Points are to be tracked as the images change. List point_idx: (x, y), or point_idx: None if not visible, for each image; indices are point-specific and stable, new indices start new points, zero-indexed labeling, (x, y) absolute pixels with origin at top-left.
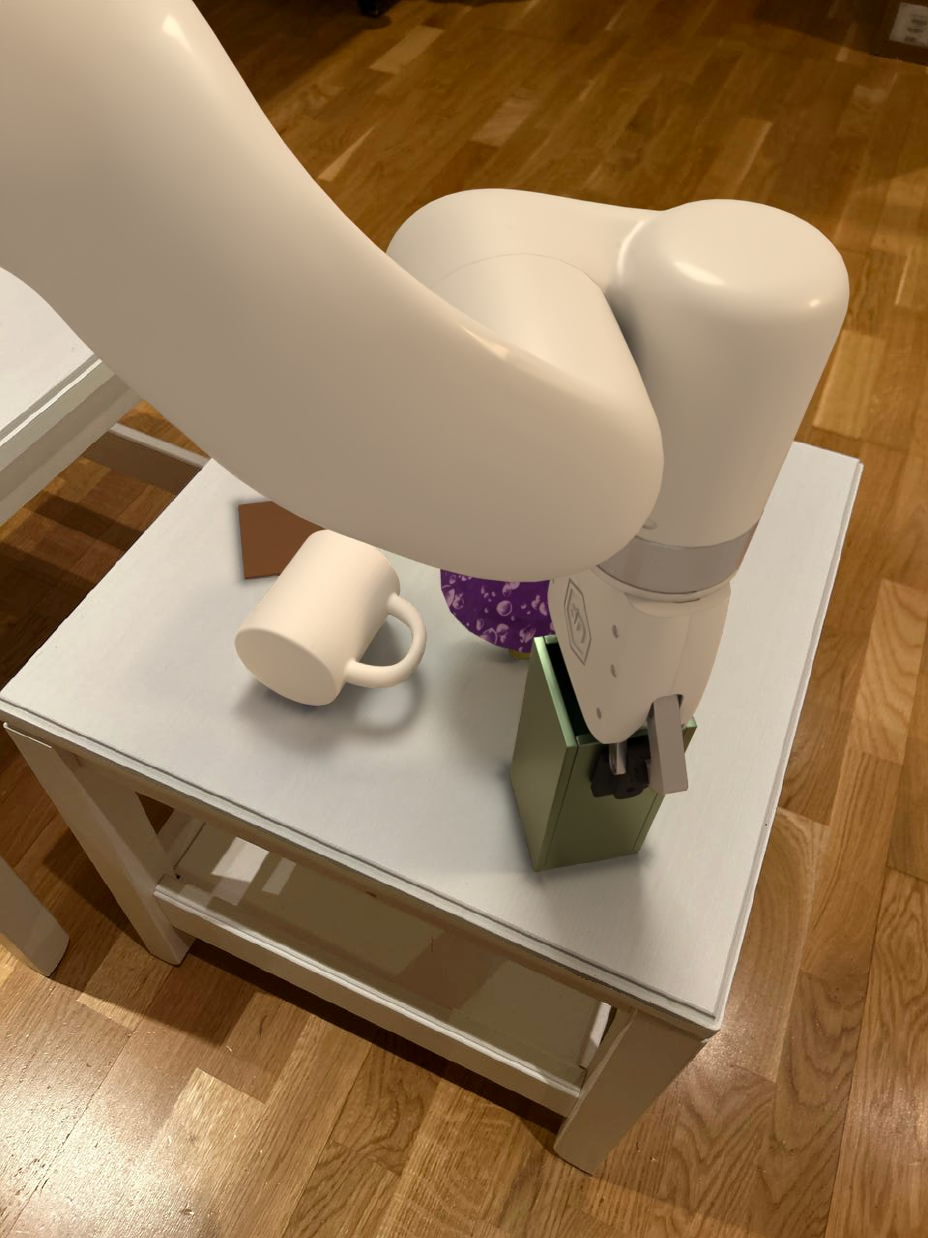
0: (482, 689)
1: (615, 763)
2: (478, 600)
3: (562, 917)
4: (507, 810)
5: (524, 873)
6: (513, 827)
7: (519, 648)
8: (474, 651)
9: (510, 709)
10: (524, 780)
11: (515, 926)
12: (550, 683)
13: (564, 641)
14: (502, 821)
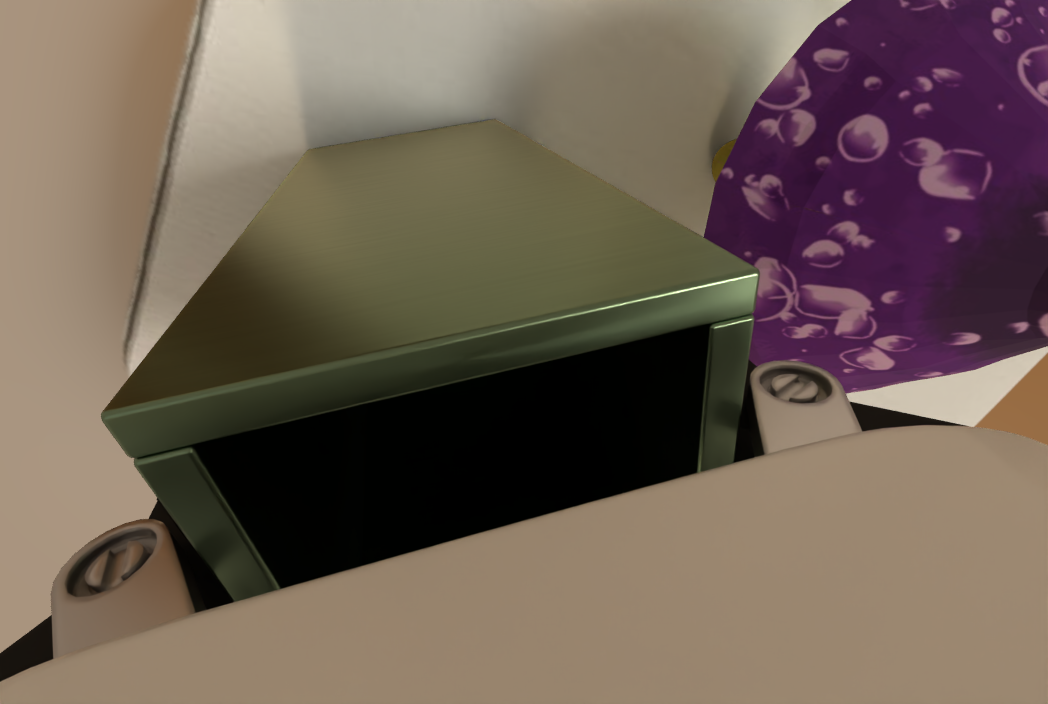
0: (671, 81)
1: (96, 579)
2: (912, 57)
3: (227, 192)
4: (427, 107)
5: (303, 129)
6: (393, 116)
7: (730, 169)
8: (749, 72)
9: (624, 133)
10: (438, 147)
11: (189, 100)
12: (497, 343)
13: (675, 621)
14: (404, 95)
